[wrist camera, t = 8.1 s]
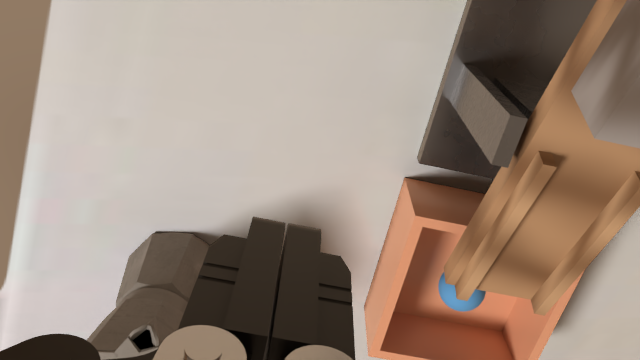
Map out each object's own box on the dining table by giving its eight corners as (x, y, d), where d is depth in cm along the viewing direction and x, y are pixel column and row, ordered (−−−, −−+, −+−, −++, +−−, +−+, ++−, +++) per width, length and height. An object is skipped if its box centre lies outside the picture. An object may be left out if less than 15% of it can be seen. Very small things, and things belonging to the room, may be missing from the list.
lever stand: (482, -48, 37) (550, -34, 26) (655, -7, 38) (797, 25, 27) (417, 157, 44) (447, 242, 33) (565, 188, 45) (646, 281, 33)
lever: (618, -38, 24) (666, 15, 20) (778, 1, 25) (856, 59, 21) (443, 267, 40) (451, 331, 36) (545, 286, 40) (563, 352, 36)
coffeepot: (148, 195, 46) (48, 342, 30) (250, 232, 48) (207, 392, 32) (108, 323, 53) (8, 501, 36) (199, 352, 54) (142, 536, 38)
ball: (431, 313, 47) (431, 272, 49) (475, 322, 47) (473, 280, 49) (448, 295, 43) (447, 252, 46) (495, 304, 44) (492, 261, 46)
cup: (404, 177, 45) (415, 215, 39) (561, 209, 46) (594, 251, 40) (364, 306, 51) (368, 355, 45) (503, 331, 52) (525, 383, 46)
